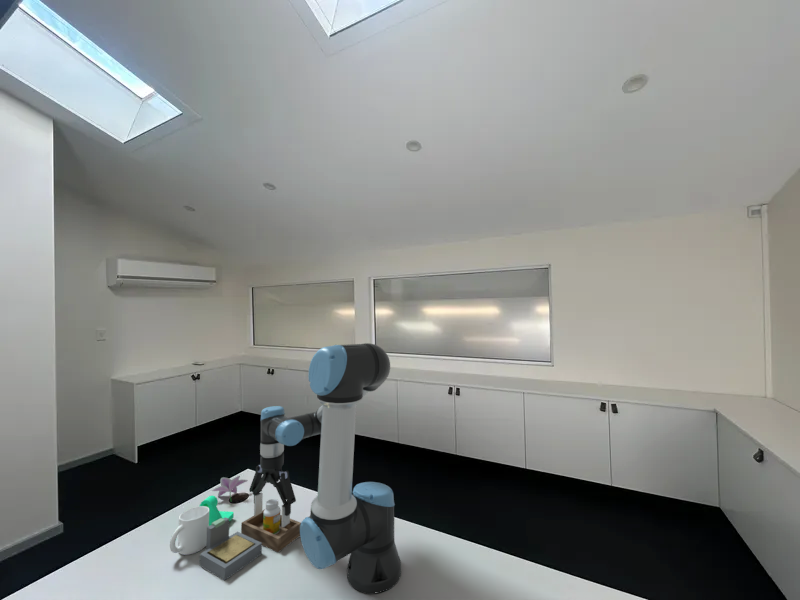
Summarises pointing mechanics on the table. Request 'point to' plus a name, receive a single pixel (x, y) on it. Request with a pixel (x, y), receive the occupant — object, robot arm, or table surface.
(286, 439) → the robot arm
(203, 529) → the mug
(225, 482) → the lily
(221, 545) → the contact pad
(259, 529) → the trough
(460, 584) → the table surface
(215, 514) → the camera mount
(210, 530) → the grey stepped block
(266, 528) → the supplement bottle
